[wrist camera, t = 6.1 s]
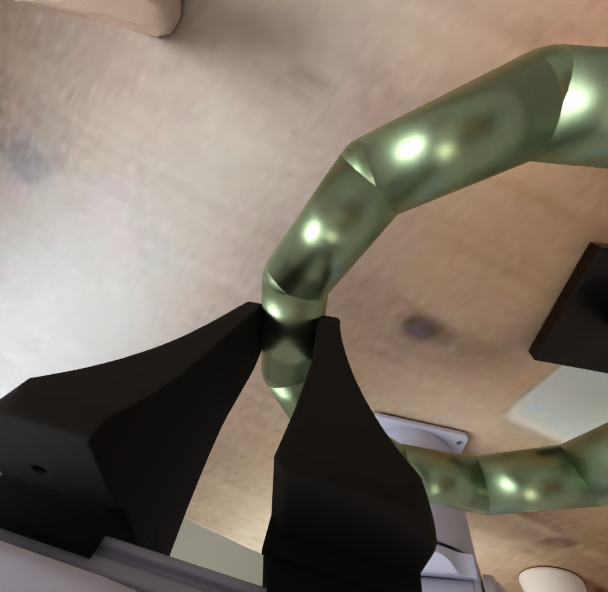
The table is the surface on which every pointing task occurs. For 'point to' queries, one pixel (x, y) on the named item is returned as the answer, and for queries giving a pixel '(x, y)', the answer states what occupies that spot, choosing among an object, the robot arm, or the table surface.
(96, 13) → the milkshake
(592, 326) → the stand
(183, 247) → the table surface
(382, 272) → the table surface
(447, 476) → the hoop
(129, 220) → the table surface
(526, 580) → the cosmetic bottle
